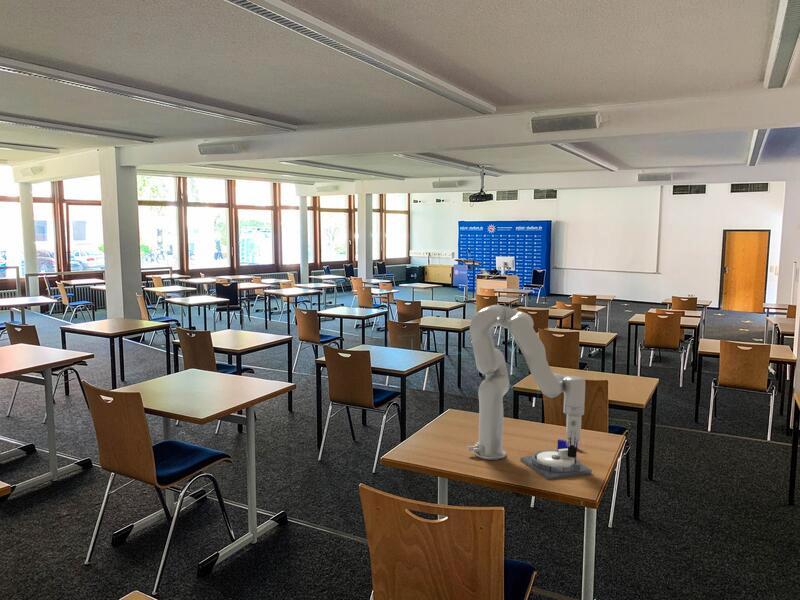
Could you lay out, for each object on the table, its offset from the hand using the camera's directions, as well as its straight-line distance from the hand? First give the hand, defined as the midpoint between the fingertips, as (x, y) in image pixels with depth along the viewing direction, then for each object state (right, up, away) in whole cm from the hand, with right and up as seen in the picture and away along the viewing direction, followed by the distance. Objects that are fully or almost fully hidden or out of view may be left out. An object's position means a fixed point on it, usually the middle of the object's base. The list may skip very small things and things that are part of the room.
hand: (571, 456), depth 222 cm
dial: (-6, -3, +1) cm, 7 cm away
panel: (-6, -5, +2) cm, 8 cm away
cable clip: (+4, -3, +19) cm, 20 cm away
